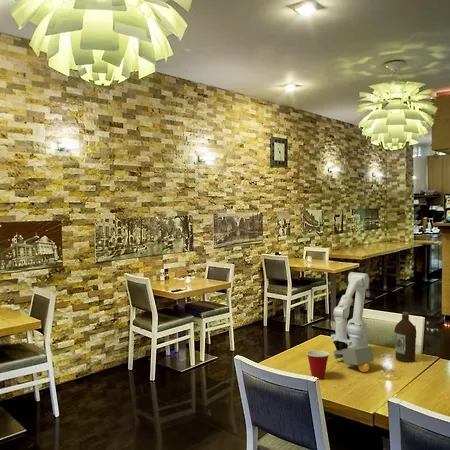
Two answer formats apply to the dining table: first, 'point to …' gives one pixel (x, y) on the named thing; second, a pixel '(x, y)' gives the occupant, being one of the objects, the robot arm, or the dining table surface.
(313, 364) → the plastic cup
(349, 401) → the dining table surface
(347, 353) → the grey open rectangular frame
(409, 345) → the olive oil
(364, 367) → the ball
